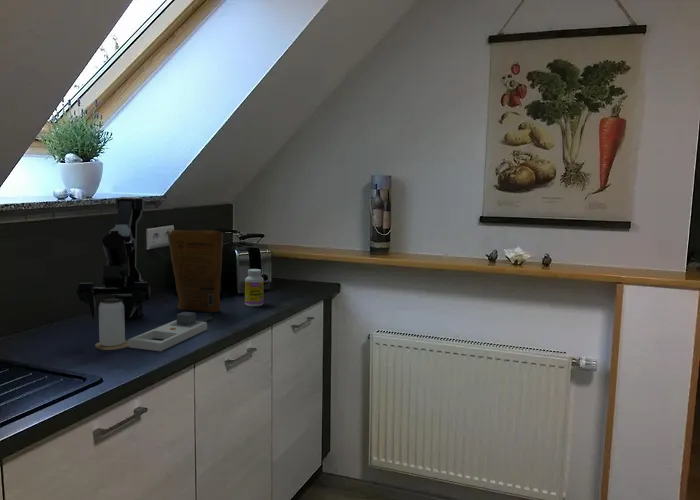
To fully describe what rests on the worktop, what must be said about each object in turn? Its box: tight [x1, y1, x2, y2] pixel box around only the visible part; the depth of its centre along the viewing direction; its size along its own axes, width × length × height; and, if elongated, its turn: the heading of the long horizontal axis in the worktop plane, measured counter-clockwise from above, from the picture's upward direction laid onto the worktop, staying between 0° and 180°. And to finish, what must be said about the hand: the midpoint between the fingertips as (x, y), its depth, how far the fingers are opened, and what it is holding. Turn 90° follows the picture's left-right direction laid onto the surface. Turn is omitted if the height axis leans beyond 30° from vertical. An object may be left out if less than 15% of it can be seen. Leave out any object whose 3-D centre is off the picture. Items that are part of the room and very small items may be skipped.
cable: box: [202, 316, 213, 323], centre depth 191 cm, size 10×1×1 cm, turn 168°
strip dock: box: [127, 319, 208, 352], centre depth 173 cm, size 10×24×2 cm, turn 163°
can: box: [98, 298, 126, 347], centre depth 164 cm, size 6×6×12 cm
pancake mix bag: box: [167, 229, 224, 313], centre depth 205 cm, size 7×19×28 cm, turn 77°
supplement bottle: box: [244, 268, 265, 308], centre depth 217 cm, size 7×7×13 cm
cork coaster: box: [94, 339, 129, 351], centre depth 165 cm, size 9×9×1 cm
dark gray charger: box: [176, 311, 197, 325], centre depth 181 cm, size 4×4×3 cm
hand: (111, 317), depth 162 cm, fingers open, 9 cm apart
